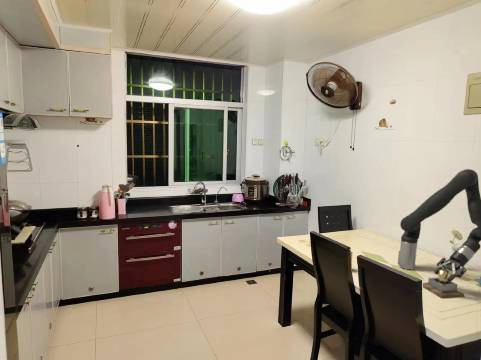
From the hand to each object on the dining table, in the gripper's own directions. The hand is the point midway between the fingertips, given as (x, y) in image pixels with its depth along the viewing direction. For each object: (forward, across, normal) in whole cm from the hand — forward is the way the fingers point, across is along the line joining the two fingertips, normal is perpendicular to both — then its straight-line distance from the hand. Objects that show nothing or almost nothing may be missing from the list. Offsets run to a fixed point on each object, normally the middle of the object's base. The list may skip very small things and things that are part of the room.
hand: (441, 277), depth 173 cm
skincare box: (+32, -34, -20) cm, 51 cm away
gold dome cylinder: (+4, 0, +5) cm, 7 cm away
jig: (+5, 0, +6) cm, 8 cm away
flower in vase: (-19, -27, +30) cm, 45 cm away
